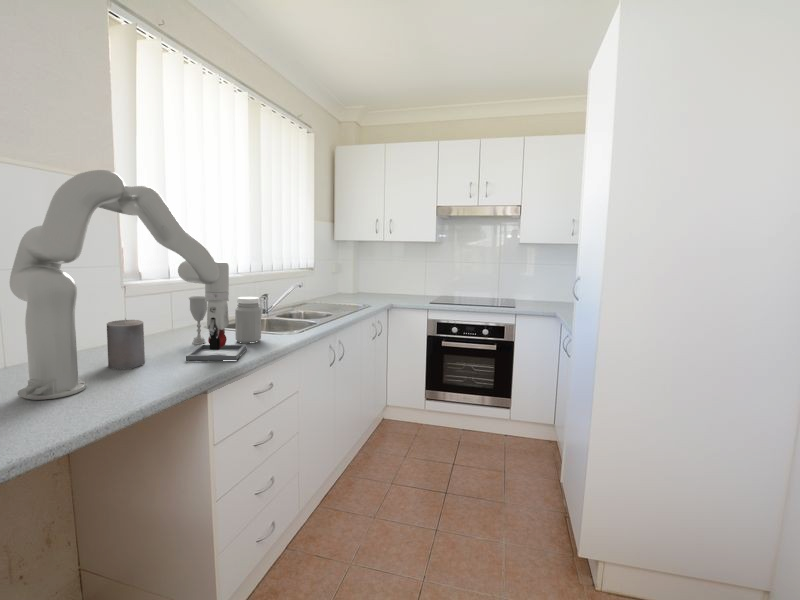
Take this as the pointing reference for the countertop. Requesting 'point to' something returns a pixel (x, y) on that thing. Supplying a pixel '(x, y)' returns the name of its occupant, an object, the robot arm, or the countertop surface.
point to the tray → (216, 353)
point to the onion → (222, 338)
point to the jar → (248, 320)
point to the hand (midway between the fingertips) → (217, 346)
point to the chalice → (198, 315)
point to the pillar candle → (125, 344)
